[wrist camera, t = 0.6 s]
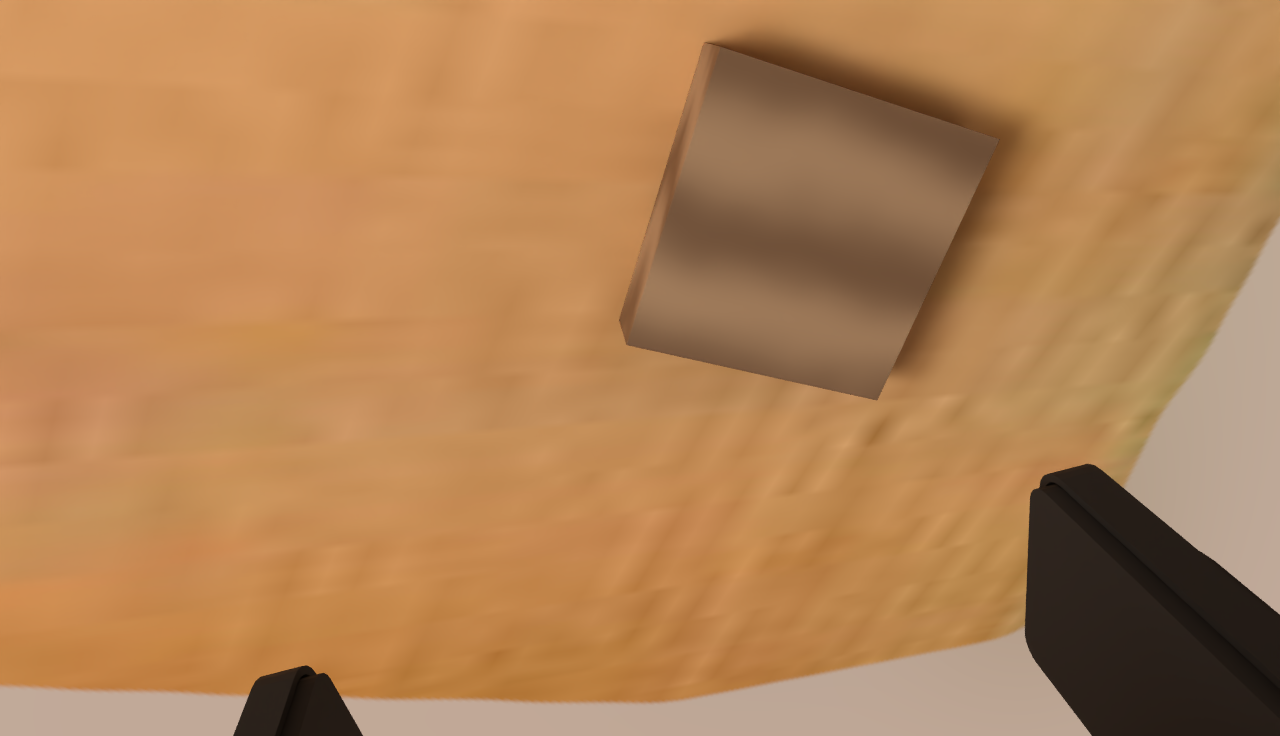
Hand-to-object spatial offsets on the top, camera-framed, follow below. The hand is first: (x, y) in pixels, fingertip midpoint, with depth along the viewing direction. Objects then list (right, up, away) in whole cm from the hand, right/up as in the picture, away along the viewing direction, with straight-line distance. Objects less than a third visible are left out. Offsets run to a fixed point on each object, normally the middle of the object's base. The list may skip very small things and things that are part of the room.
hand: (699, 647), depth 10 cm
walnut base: (+6, +10, +26) cm, 29 cm away
